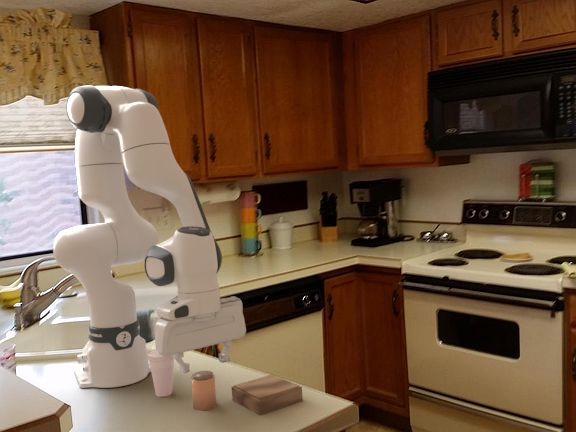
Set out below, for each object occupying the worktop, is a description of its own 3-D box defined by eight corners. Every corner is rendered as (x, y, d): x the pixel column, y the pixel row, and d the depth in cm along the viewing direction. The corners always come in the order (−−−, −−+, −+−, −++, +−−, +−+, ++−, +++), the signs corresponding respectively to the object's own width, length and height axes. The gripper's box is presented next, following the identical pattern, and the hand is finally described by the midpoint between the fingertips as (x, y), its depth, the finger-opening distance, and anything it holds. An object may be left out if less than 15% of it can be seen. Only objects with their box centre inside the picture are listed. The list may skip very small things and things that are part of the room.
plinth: (232, 400, 134) (231, 385, 133) (273, 387, 140) (272, 373, 140) (260, 415, 125) (259, 399, 124) (302, 400, 131) (301, 385, 131)
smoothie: (165, 400, 135) (161, 339, 134) (143, 396, 138) (139, 336, 137) (183, 390, 141) (179, 331, 140) (162, 387, 144) (158, 329, 143)
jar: (189, 405, 132) (186, 374, 131) (209, 399, 135) (207, 368, 134) (199, 412, 128) (197, 380, 127) (220, 406, 131) (218, 374, 130)
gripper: (233, 293, 138) (238, 353, 139) (149, 309, 126) (154, 375, 127) (248, 296, 133) (253, 358, 134) (162, 313, 121) (167, 382, 122)
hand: (204, 366), depth 130 cm, fingers open, 8 cm apart
